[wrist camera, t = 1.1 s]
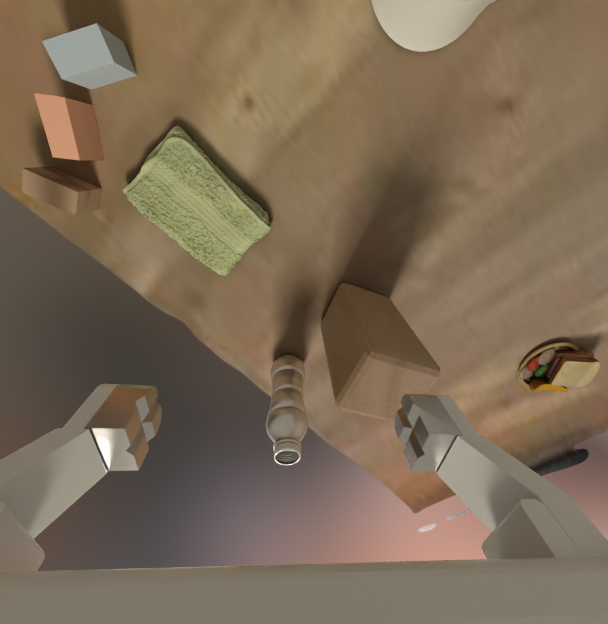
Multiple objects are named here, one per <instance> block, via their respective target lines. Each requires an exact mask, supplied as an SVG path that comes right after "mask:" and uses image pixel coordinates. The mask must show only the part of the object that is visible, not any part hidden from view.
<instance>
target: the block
mask: <svg viewBox="0 0 608 624" xmlns="http://www.w3.org/2000/svg"><path fill="white" fill-rule="evenodd" d="M321 331H322V336H323V341H324V347H325V352H326V357H327V362H328V368H329V373H330V378H331V383H332V389H333V394H334V399H335V404H336V406H337V407H338V408H339V409H341V410H344V411H348V412H352V413H357V414H361V415H365V416H370V417H374V418H378V419H382V420H387V421H391V422H395V415H396V412H397V411H398V410H399V409H400V408H402V405H401V402H400V401H401V399H402V396H404V395H405V394H425V393H426V392H427V391H428V390H429V388H430V387H431V386H432V385H433V383H434V382H435V381H436V380H437V378H438V377H439V375H440V368H439V366H438V365H437V363H436V362H435V361H434V359H433V358H432V357H431V355H430V354H429V352H428V351H427V350H426V348H425V347H424V345H423V344H422V343H421V341H420V340H419V339H418V337H417V336H416V334H415V333H414V332H413V330H412V329H411V328H410V326H409V325H408V323H407V322H406V321H405V319H404V318H403V316H402V315H401V314H400V312H399V311H398V310H397V308H396V307H395V305H394V304H393V303H392V301H391V300H390V299H389V298H388V297H386V296H383V295H380V294H377V293H374V292H371V291H368V290H365V289H362V288H359V287H357V286H354V285H351V284H348V283H341V284H340V286H339V287H338V289H337V291H336V294H335V296H334V298H333V300H332V302H331V304H330V306H329V308H328V310H327V312H326V315H325V317H324V319H323V321H322V323H321Z"/></svg>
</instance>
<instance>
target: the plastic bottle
mask: <svg viewBox="0 0 608 624" xmlns="http://www.w3.org/2000/svg"><path fill="white" fill-rule="evenodd" d="M304 377H305V368H304V365H303V362H302V361H301V360H300V359H299V358H297V357H296V356H293V355H284V356H281V357H279V358H278V359H276V360H275V361H274V363H273V365H272V368H271V380H272V399H271V405H270V409H269V413H268V416H267V421H266V429H267V433H268V435H269V437H270V438H271V439H272V441H273V442H274V448H273V449H274V459H275V461H276V462H277V463H278V464H281V465H292V464H295V463H297V462H298V461H299V460H300V457H301V452H300V450H301V444H300V441H301V439H302V438H303V437H304V435H305V433H306V431H307V428H308V419H307V414H306V410H305V406H304V399H303V382H304Z"/></svg>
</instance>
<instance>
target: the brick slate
mask: <svg viewBox="0 0 608 624" xmlns="http://www.w3.org/2000/svg"><path fill="white" fill-rule="evenodd" d="M42 42H43V44H44V46H45V48H46V50H47V52H48V54H49V56H50V58H51V60H52V61H53V63H54V65H55V67H56V69H57V71H58V73H59V75H60V77H61V79H63V80H66V81H69V82H72V83H74V84H77V85H80V86H83V87H86V88H88V89H95V88H98V87H101V86H104V85H107V84H111V83H114V82H117V81H120V80H123V79H127V78H130V77H133V76H136V75H137V74H136V71H135V69H134V66H133V64H132V62H131V59H130V57H129V54H128V52H127V50H126V47H125V45H124V43H123V41H121V40H120V39H118V38H117V37H116V36H114V35H113V34H111V33H110V32H109V31H107V30H106V29H104V28H103V27H102V26H100V25H99V24H97V23H96V24H93V25H90V26H87V27H84V28H81V29H78V30H75V31H72V32H69V33H65V34H62V35H59V36H56V37H53V38H50V39H47V40H44V41H42Z"/></svg>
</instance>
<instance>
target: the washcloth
mask: <svg viewBox="0 0 608 624" xmlns="http://www.w3.org/2000/svg"><path fill="white" fill-rule="evenodd" d="M123 192H124V193H125V194H126V195H127V198H128V201H130V202H132V204H133V206H136V208H137V209H138V211H140V212H141V213H143V214H144V216H145V217H146V218H147V219H148V220H149V221H151V222H153V223H155V224H156V226H158V227H159V229H162V230H163V231H164V232H165V233H166V234H168V235H169V236H170V237H171V238H173V239H174V241H176V242H178V243H179V245H180V246H181V247H183V248H184V249H186V251H189V252H190V253H191V254H192V256H193V257H194V258H196V259H198V261H199V262H202V263H204V265H207V266H208V267H210V269H211V270H213V271H215V272H217V273H218V274H219V275H227V274H228V273H229V272H230V270H231V269H232V268H233V267H234V266H235V264H236V263H237V262H238V261H239V260H240V259H241V258H242V257H243V253H244V252H245V251H246V250H247V249H248V248H249V247H250V246H251V245H252V244H253V243H256V242H257V241H258V240H259V239H260V238H262V237H263V236H264V235H266V234H267V233H268V232H269V231H270V229H271V228H272V225H271V223H270V222H269V218H268V213H267V212H266V211H264V210H263V209H262V208H261V207H260V205H258V204H257V203H256V202H254V201H253V200H252V199H251V198H250V197H248V196H247V195H245V193H244V192H243V191H242V190H241V189H240V188H239V187H238V186H236V184H235V183H233V182H231V181H230V179H229V178H228V177H226V175H225V174H223V173H222V170H220V168H218V166H215V164H213V162H212V161H211V160H210V159H209V157H207V155H205V154H204V152H203V151H202V149H201V148H199V147H198V146H197V144H196V143H195V142H193V141H192V139H191V138H190V136H189V135H188V134H187V133H186V132H185V131H184V130H183V129H182V128H181V127H179V126H175V127H173V129H172V130H171V131H170V132H169V133H168V134H167V136H166V138H165V139H164V140H163V141H162V142H161V143H160V144H159V145H158V146H157V147H156V148H155V149H154V150H153V151H152V152H151V153H150V154H149V155H148V157H147V159H146V160H145V162H144V164H143V166H142V168H141V171H140V173H139V174H138V175H137V176H136V178H135V179H134V180H133V181H132V182H131V183H130V184H129V185H128V186H127V187H125V188H124V190H123Z"/></svg>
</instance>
